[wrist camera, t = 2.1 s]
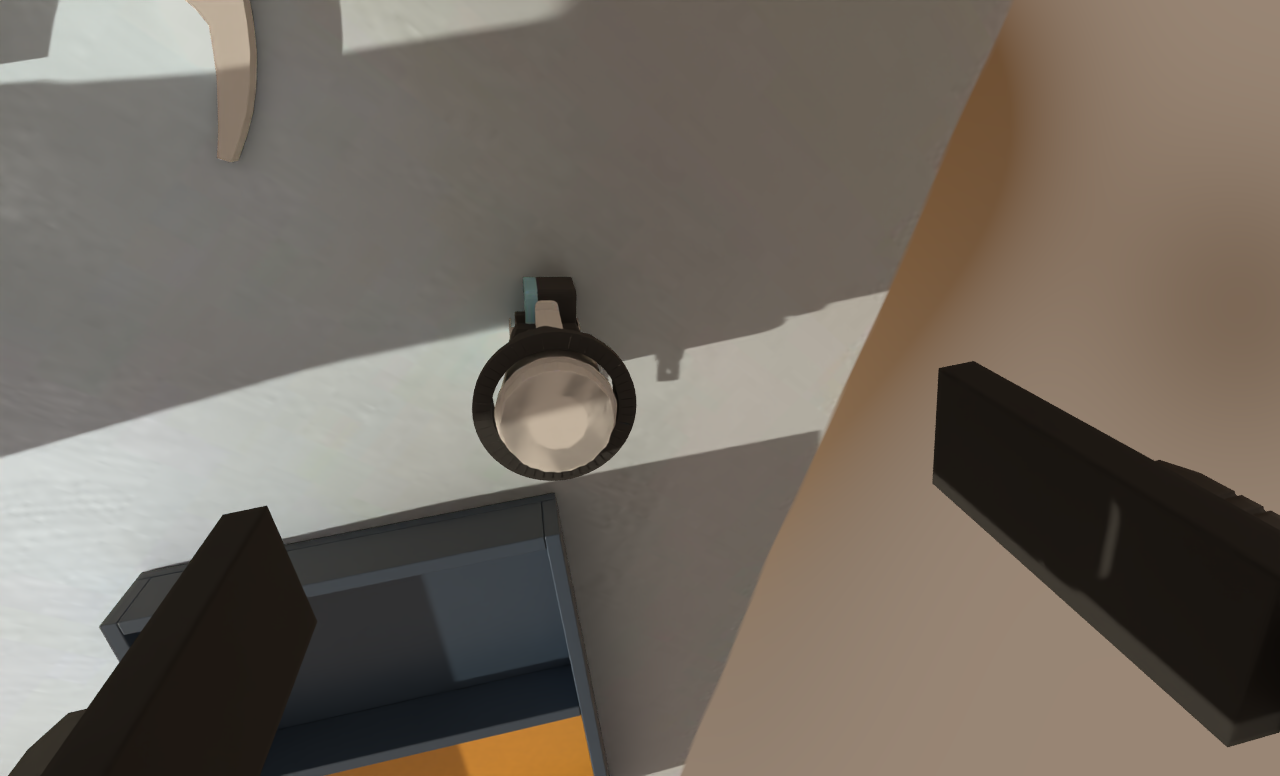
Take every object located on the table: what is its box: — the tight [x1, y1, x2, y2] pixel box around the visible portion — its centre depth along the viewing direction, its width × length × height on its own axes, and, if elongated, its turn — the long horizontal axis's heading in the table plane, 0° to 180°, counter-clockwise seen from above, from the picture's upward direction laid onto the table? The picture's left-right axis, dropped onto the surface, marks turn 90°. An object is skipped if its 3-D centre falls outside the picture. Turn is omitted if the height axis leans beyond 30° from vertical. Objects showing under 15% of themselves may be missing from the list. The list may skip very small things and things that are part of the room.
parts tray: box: [99, 493, 610, 776], centre depth 35 cm, size 19×22×4 cm
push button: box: [472, 277, 636, 481], centre depth 26 cm, size 7×5×10 cm
